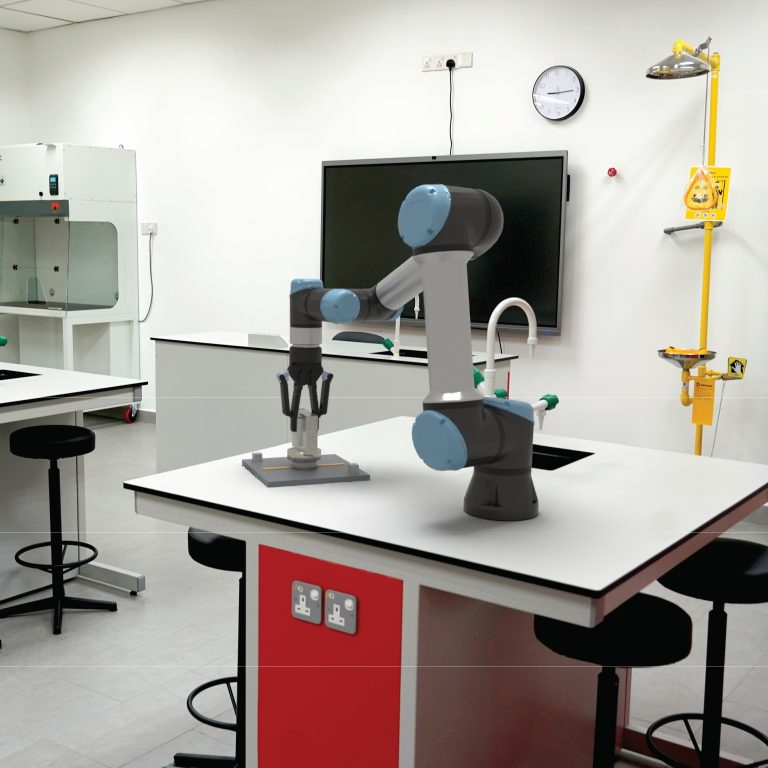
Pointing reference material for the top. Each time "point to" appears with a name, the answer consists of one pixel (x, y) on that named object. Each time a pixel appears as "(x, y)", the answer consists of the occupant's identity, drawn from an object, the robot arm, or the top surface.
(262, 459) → the post plate
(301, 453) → the grey block knob
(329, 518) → the top surface
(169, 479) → the top surface
